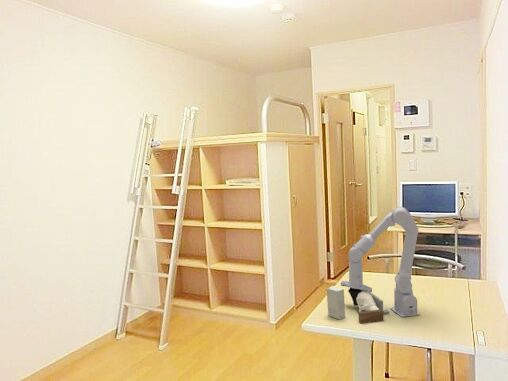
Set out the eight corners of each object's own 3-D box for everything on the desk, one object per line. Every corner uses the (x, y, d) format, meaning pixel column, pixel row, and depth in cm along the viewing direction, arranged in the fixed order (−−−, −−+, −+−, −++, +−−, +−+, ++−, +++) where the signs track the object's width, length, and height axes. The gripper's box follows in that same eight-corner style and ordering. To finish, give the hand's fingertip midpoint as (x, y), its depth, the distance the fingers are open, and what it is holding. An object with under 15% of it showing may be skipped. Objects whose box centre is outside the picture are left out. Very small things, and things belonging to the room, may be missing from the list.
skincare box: (345, 317, 165) (345, 288, 164) (338, 320, 162) (338, 291, 161) (333, 312, 170) (333, 285, 169) (326, 316, 167) (326, 287, 166)
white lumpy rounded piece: (367, 288, 173) (385, 300, 161) (366, 306, 174) (384, 319, 163) (355, 290, 171) (372, 302, 159) (354, 309, 172) (371, 322, 161)
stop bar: (383, 320, 160) (383, 310, 160) (360, 323, 158) (360, 313, 158) (381, 318, 162) (381, 309, 161) (358, 321, 160) (358, 312, 160)
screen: (389, 314, 166) (389, 300, 166) (380, 315, 165) (379, 301, 165) (365, 296, 188) (365, 283, 187) (356, 297, 187) (356, 284, 186)
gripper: (375, 275, 170) (376, 306, 172) (346, 269, 181) (347, 298, 182) (366, 279, 166) (367, 311, 167) (337, 273, 176) (338, 302, 177)
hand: (356, 305), depth 174 cm, fingers closed
